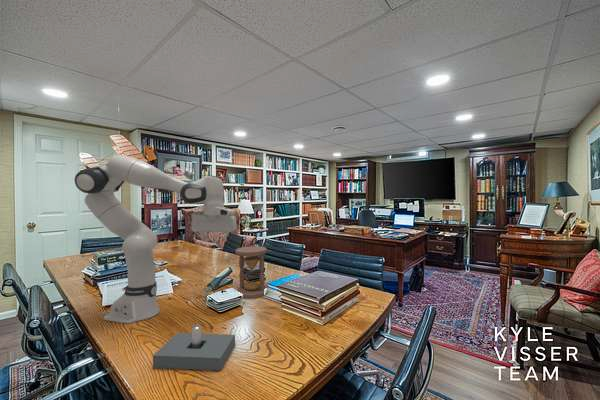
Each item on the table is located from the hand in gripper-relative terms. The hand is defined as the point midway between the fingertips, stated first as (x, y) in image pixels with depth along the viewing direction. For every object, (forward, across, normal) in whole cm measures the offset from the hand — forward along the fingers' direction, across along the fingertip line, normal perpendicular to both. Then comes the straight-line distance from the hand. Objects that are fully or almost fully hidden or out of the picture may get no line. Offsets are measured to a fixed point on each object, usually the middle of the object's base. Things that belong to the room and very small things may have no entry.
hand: (214, 241), depth 120 cm
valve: (+34, -8, +17) cm, 39 cm away
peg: (+34, +6, -30) cm, 46 cm away
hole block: (+34, +6, -30) cm, 46 cm away
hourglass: (+34, +9, +30) cm, 46 cm away
